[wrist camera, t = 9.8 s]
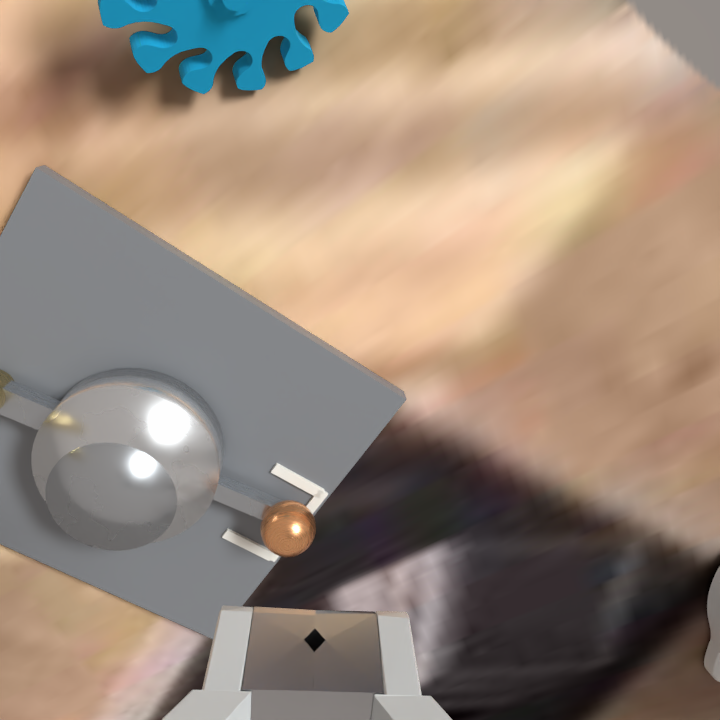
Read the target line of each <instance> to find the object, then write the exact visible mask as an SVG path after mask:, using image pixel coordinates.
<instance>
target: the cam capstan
mask: <svg viewBox="0 0 720 720" xmlns="http://www.w3.org/2000/svg"><path fill="white" fill-rule="evenodd" d="M0 415H3V416H5V417H8V418H10V419H12V420H15V421H17V422H20V423H22V424H24V425H27V426H29V427H32V428H34V429H36V430H39V431H38V432H37V434H36V437H35V440H34V443H33V448H32V454H31V465H32V472H33V476H34V480H35V483H36V486H37V488H38V490H39V492H40V494H41V496H42V497H43V499H44V500H45V502H46V503H47V506H48V509H49V511H50V513H51V515H52V517H53V518H54V520H55V521H56V523H57V524H58V525H59V526H60V527H61V528H62V529H63V530H64V531H65V532H66V533H67V534H69V535H70V536H71V537H73V538H74V539H76V540H78V541H80V542H82V543H84V544H86V545H89V546H92V547H95V548H99V549H104V550H112V551H121V550H130V549H135V548H139V547H142V546H145V545H147V544H149V543H154V542H159V541H162V540H165V539H168V538H171V537H173V536H176V535H178V534H180V533H182V532H183V531H185V530H186V529H188V528H190V527H191V526H192V525H193V524H195V523H196V522H197V521H198V520H199V519H200V518H201V517H202V516H203V515H204V513H205V512H206V510H207V509H208V508H209V506H210V504H211V502H212V500H215V501H218V502H220V503H223V504H225V505H227V506H230V507H232V508H234V509H237V510H239V511H242V512H244V513H246V514H249V515H251V516H254V517H256V518H258V519H261V520H262V521H261V527H260V532H261V537H262V540H263V542H264V544H265V546H266V547H267V548H268V549H269V550H270V551H271V552H272V553H274V554H276V555H278V556H282V557H293V556H297V555H299V554H301V553H303V552H304V551H305V550H306V549H307V548H308V547H309V546H310V545H311V543H312V541H313V539H314V537H315V533H316V523H315V519H314V516H313V514H312V513H311V511H310V510H309V509H308V508H307V507H306V506H305V505H304V504H302V503H300V502H297V501H294V500H285V501H282V500H280V499H278V498H275V497H273V496H271V495H268V494H266V493H264V492H261V491H259V490H257V489H254V488H252V487H250V486H247V485H245V484H243V483H241V482H238V481H236V480H234V479H231V478H229V477H227V476H224V475H222V474H220V472H221V468H222V464H223V458H224V438H223V432H222V429H221V426H220V423H219V421H218V419H217V417H216V415H215V413H214V412H213V410H212V409H211V407H210V406H209V404H208V403H207V402H206V401H205V400H204V399H203V398H202V397H201V396H200V395H199V394H198V393H197V392H196V391H195V390H194V389H192V388H191V387H189V386H188V385H186V384H185V383H183V382H182V381H180V380H178V379H176V378H174V377H172V376H169V375H167V374H164V373H161V372H157V371H153V370H149V369H142V368H118V369H112V370H107V371H103V372H100V373H97V374H94V375H92V376H90V377H88V378H86V379H84V380H83V381H81V382H80V383H78V384H77V385H75V386H74V387H73V388H72V389H71V390H70V391H69V392H68V393H67V394H66V395H65V396H64V397H63V399H62V400H61V401H58V400H56V399H54V398H52V397H49V396H47V395H45V394H42V393H40V392H38V391H35V390H33V389H31V388H28V387H26V386H24V385H21V384H19V383H17V382H15V381H14V379H13V378H12V376H11V375H10V374H8V373H7V372H5V371H3V370H1V369H0Z"/></svg>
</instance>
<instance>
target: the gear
mask: <svg viewBox="0 0 720 720" xmlns="http://www.w3.org/2000/svg"><path fill="white" fill-rule="evenodd" d="M98 5H99V10H100V14H101V19H102V23H103V25H104V26H106V27H109V28H121V27H123V26H125V25H128V24H131V23H135V22H154V23H159V24H163V25H167V26H170V27H172V30H171V31H170V32H168V33H166V34H156V33H152V32H148V31H139V32H136V33H134V34H133V35H131V37H130V38H129V39H130V44H131V48H132V53H133V56H134V58H135V60H136V61H137V63H138V64H139V65H140V67H141V68H142V69H143V70H144V71H145V72H146V73H153V72H156V71H158V70H159V69H161V68H162V66H163V65H164V64H165V62H166V61H167V60H169V59H170V58H171V57H173V56H174V55H176V54H178V53H180V52H182V51H186V50H190V49H194V48H205V49H207V50H206V51H205V52H204V53H203V54H200V55H196V56H192V57H188V58H186V59H184V60H183V61H182V62H181V63H180V65H179V73H180V76H181V80H182V83H183V84H184V85H185V86H186V87H188V88H189V89H191V90H194V91H196V92H199V93H202V94H205V93H207V92H208V91H209V90H210V89H211V88H212V85H213V79H214V76H215V73H216V71H217V69H218V67H219V66H220V65H221V64H222V63H223V62H224V61H225V60H226V59H227V58H228V57H230V56H231V55H232V54H233V53H235V52H237V51H246V54H245V55H244V56H242V57H241V58H240V59H239V60H237V61H236V62H235V64H234V66H233V70H232V71H233V75H234V78H235V82H236V85H237V87H238V89H241V90H260V89H263V87H264V86H265V83H266V79H265V75H264V72H263V69H262V63H261V62H262V56H263V53H264V50H265V48H266V46H267V43H268V42H269V41H270V39H272V38H273V37H276V36H284V38H283V41H282V43H281V46H280V52H281V55H282V57H283V60H284V63H285V66H286V68H287V69H288V70H290V71H293V70H297V69H300V68H302V67H304V66H306V65H308V64H310V63H311V62H313V60H314V55H313V52H312V50H311V47H310V45H309V42H308V40H307V38H306V37H305V36H303V35H302V34H300V33H299V32H298V31H297V30H296V28H295V23H294V15H295V13H296V11H297V10H298V9H299V8H300V7H302V6H305V5H311V6H313V7H314V12H315V15H316V17H317V20H318V22H319V25H320V27H321V28H322V29H323V30H324V31H326V32H330V33H331V32H333V31H334V30H335V29H337V28H338V27H339V26H340V25H341V23H342V22H343V21H344V20H345V18H346V17H347V15H348V14H349V12H348V9H347V7H346V5H345V2H344V0H98Z"/></svg>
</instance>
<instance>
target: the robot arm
mask: <svg viewBox="0 0 720 720" xmlns="http://www.w3.org/2000/svg"><path fill="white" fill-rule="evenodd" d="M707 614H708V620H709V625H710V630H711V639H710V642H709V645H708V648H707V651H706V654H705V658H704V667H705V669H706V670H707V671H708V672H709V673H710V674H711V675H712V677H713V678H714V679H715V680H716V681H718V682H720V566H719V568H718V570H717V572H716V574H715V576H714V578H713V580H712V583H711V586H710V590H709V594H708V600H707ZM162 720H452V719H451V718H450V717H449V715H448V714H447V713H446V712H445V711H444V710H443V709H442V708H441V707H440V706H439V704H438V703H437V702H436V701H435V700H434V699H433V698H432V697H431V696H422V695H421V689H420V683H419V677H418V670H417V664H416V658H415V652H414V645H413V639H412V633H411V627H410V620H409V616H408V614H407V613H406V612H384V611H376V613H375V612H367V611H329V610H301V609H284V608H268V607H255V608H253V607H239V606H224V605H223V606H222V608H221V610H220V612H219V616H218V621H217V625H216V630H215V634H214V639H213V643H212V648H211V652H210V657H209V661H208V666H207V670H206V675H205V679H204V684H203V688H202V690H192V691H191V692H190V693H189V694H188V695H187V696H186V697H184V698H183V699H182V700H181V701H180V702H179V703H178V704H177V705H176V706H175V707H174V708H173V709H172V710H171V711H170V712H169V713H168V714H167V715H166V716H165V717H164V718H163V719H162Z"/></svg>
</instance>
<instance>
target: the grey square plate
mask: <svg viewBox="0 0 720 720" xmlns="http://www.w3.org/2000/svg"><path fill="white" fill-rule="evenodd" d="M118 368H142V369H149V370H153V371H157V372H161V373H164V374H167V375H169V376H172V377H174V378H176V379H178V380H180V381H182V382H183V383H185V384H186V385H188V386H189V387H191V388H192V389H194V390H195V391H196V392H197V393H198V394H199V395H200V396H201V397H202V398H203V399H204V400H205V401H206V402H207V403H208V404H209V406H210V407H211V409H212V410H213V412H214V413H215V415H216V417H217V419H218V421H219V423H220V426H221V429H222V432H223V438H224V458H223V464H222V468H221V472H220V474H222V475H224V476H227V477H229V478H231V479H234V480H236V481H238V482H241V483H243V484H245V485H247V486H250V487H252V488H254V489H257V490H259V491H261V492H264V493H266V494H268V495H271V496H273V497H275V498H278V499H280V500H282V501H285V500H294V501H297V502H300V503H302V504H304V505H305V506H306V507H307V508H308V509H309V510H310V511H311V513H312V514H313V516H314V515H315V514H316V512H317V511H318V510H319V509H320V507H321V506H322V505H323V504H324V502H325V501H326V500H327V499H328V497H329V496H330V495H331V493H332V492H333V491H334V490H335V488H336V487H337V486H338V485H339V483H340V482H341V481H342V480H343V478H344V477H345V476H346V475H347V473H348V472H349V471H350V470H351V468H352V467H353V466H354V465H355V463H356V462H357V461H358V460H359V458H360V457H361V456H362V455H363V453H364V452H365V451H366V450H367V448H368V447H369V446H370V445H371V443H372V442H373V441H374V439H375V438H376V437H377V436H378V434H379V433H380V432H381V431H382V429H383V428H384V427H385V426H386V424H387V423H388V422H389V421H390V419H391V418H392V417H393V416H394V414H395V413H396V412H397V411H398V409H399V408H400V407H401V406H402V404H403V403H404V402H405V401H406V397H405V394H404V391H402V390H400V389H399V388H397V387H396V386H394V385H393V384H391V383H389V382H388V381H386V380H385V379H383V378H381V377H380V376H378V375H377V374H375V373H373V372H372V371H370V370H369V369H367V368H366V367H364V366H362V365H361V364H359V363H358V362H356V361H354V360H353V359H351V358H350V357H348V356H347V355H345V354H343V353H342V352H340V351H339V350H337V349H335V348H334V347H332V346H331V345H329V344H327V343H326V342H324V341H323V340H321V339H320V338H318V337H316V336H315V335H313V334H312V333H310V332H308V331H307V330H305V329H304V328H302V327H300V326H299V325H297V324H296V323H294V322H293V321H291V320H289V319H288V318H286V317H285V316H283V315H281V314H280V313H278V312H277V311H275V310H274V309H272V308H270V307H269V306H267V305H266V304H264V303H262V302H261V301H259V300H258V299H256V298H254V297H253V296H251V295H250V294H248V293H247V292H245V291H243V290H242V289H240V288H239V287H237V286H235V285H234V284H232V283H231V282H229V281H227V280H226V279H224V278H223V277H221V276H220V275H218V274H216V273H215V272H213V271H212V270H210V269H208V268H207V267H205V266H204V265H202V264H200V263H199V262H197V261H196V260H194V259H193V258H191V257H189V256H188V255H186V254H185V253H183V252H181V251H180V250H178V249H177V248H175V247H174V246H172V245H170V244H169V243H167V242H166V241H164V240H162V239H161V238H159V237H158V236H156V235H154V234H153V233H151V232H150V231H148V230H147V229H145V228H143V227H142V226H140V225H139V224H137V223H135V222H134V221H132V220H131V219H129V218H127V217H126V216H124V215H123V214H121V213H120V212H118V211H116V210H115V209H113V208H112V207H110V206H108V205H107V204H105V203H104V202H102V201H101V200H99V199H97V198H96V197H94V196H93V195H91V194H89V193H88V192H86V191H85V190H83V189H81V188H80V187H78V186H77V185H75V184H74V183H72V182H70V181H69V180H67V179H66V178H64V177H62V176H61V175H59V174H58V173H56V172H54V171H53V170H51V169H50V168H48V167H47V166H45V165H43V166H40V167H36V168H35V170H34V172H33V174H32V176H31V178H30V180H29V182H28V184H27V186H26V188H25V190H24V192H23V193H22V195H21V197H20V199H19V201H18V203H17V205H16V207H15V209H14V211H13V213H12V215H11V217H10V219H9V220H8V222H7V224H6V226H5V228H4V230H3V232H2V234H1V236H0V369H1V370H3V371H5V372H7V373H8V374H10V375H11V376H12V378H13V379H14V381H15V382H17V383H19V384H21V385H24V386H26V387H28V388H31V389H33V390H35V391H38V392H40V393H42V394H45V395H47V396H49V397H52V398H54V399H56V400H58V401H61V400H62V399H63V397H64V396H65V395H66V394H67V393H68V392H69V391H70V390H71V389H72V388H73V387H74V386H75V385H77V384H78V383H80V382H81V381H83V380H84V379H86V378H88V377H90V376H92V375H94V374H97V373H100V372H103V371H107V370H112V369H118ZM38 431H39V430H36V429H34V428H32V427H29V426H27V425H24V424H22V423H20V422H17V421H15V420H12V419H10V418H8V417H5V416H3V415H0V544H1V545H3V546H5V547H8V548H10V549H12V550H14V551H17V552H19V553H21V554H23V555H26V556H28V557H30V558H32V559H35V560H37V561H39V562H41V563H43V564H46V565H48V566H50V567H52V568H55V569H57V570H59V571H61V572H64V573H66V574H68V575H70V576H73V577H75V578H77V579H79V580H82V581H84V582H86V583H88V584H90V585H93V586H95V587H97V588H99V589H102V590H104V591H106V592H108V593H111V594H113V595H115V596H117V597H120V598H122V599H124V600H126V601H129V602H131V603H133V604H135V605H137V606H140V607H142V608H144V609H146V610H149V611H151V612H153V613H155V614H158V615H160V616H162V617H164V618H167V619H169V620H171V621H173V622H176V623H178V624H180V625H182V626H184V627H187V628H189V629H191V630H193V631H196V632H198V633H200V634H202V635H205V636H207V637H209V638H211V639H214V634H215V630H216V625H217V621H218V616H219V612H220V610H221V608H222V606H223V605H224V606H239V607H242V605H243V604H244V603H245V601H246V600H247V599H248V598H249V596H250V595H251V594H252V593H253V591H254V590H255V589H256V588H257V586H258V585H259V584H260V583H261V581H262V580H263V579H264V578H265V576H266V575H267V574H268V573H269V571H270V570H271V569H272V568H273V566H274V565H275V564H276V563H277V561H278V560H279V559H280V558H281V556H278V555H276V554H274V553H272V552H271V551H270V550H269V549H268V548H267V547H266V546H265V544H264V542H263V540H262V537H261V532H260V527H261V521H262V520H261V519H258V518H256V517H254V516H251V515H249V514H246V513H244V512H242V511H239V510H237V509H234V508H232V507H230V506H227V505H225V504H223V503H220V502H218V501H215V500H212V502H211V504H210V506H209V508H208V509H207V510H206V512H205V513H204V515H203V516H202V517H201V518H200V519H199V520H198V521H197V522H196V523H195V524H193V525H192V526H191V527H190V528H188V529H186V530H185V531H183V532H182V533H180V534H178V535H176V536H173V537H171V538H168V539H165V540H162V541H159V542H154V543H149V544H147V545H145V546H142V547H139V548H135V549H130V550H121V551H112V550H104V549H99V548H95V547H92V546H89V545H86V544H84V543H82V542H80V541H78V540H76V539H74V538H73V537H71V536H70V535H69V534H67V533H66V532H65V531H64V530H63V529H62V528H61V527H60V526H59V525H58V524H57V523H56V521H55V520H54V518H53V517H52V515H51V513H50V511H49V509H48V506H47V503H46V502H45V500H44V499H43V497H42V496H41V494H40V492H39V490H38V488H37V486H36V483H35V480H34V476H33V472H32V465H31V454H32V448H33V443H34V440H35V437H36V434H37V432H38Z"/></svg>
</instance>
